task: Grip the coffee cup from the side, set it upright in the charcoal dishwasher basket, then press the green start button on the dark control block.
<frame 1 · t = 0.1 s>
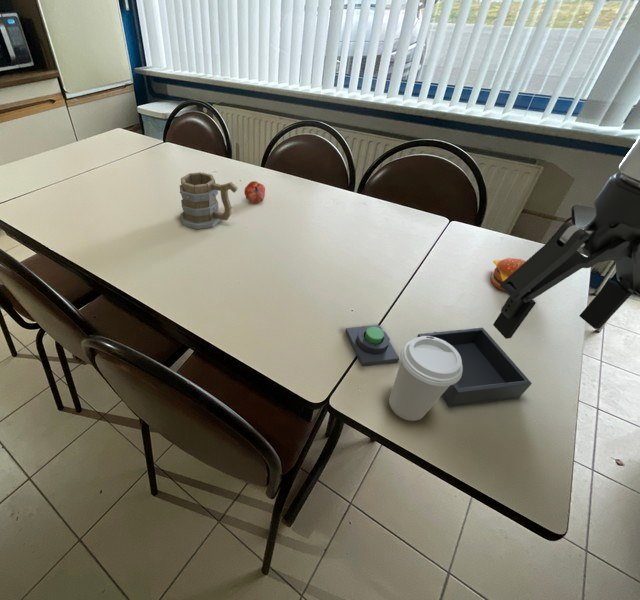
hand: (545, 326, 52), 24 cm above the table, tool pointing down, fingers open, 13 cm apart
pomegranate: (254, 201, 132), on the table
hamburger: (508, 284, 97), on the table
basket: (462, 371, 75), on the table
tankard: (210, 222, 121), on the table
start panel: (370, 346, 80), on the table
start button: (374, 335, 78), point 3 cm above the table, slide at 0.1 cm
coffee cup: (406, 405, 69), on the table
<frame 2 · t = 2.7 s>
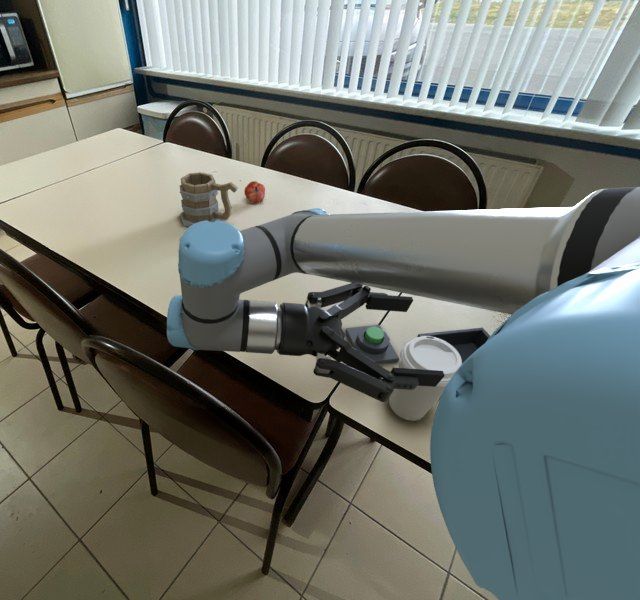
hand: (423, 338, 53), 21 cm above the table, tool horizontal, fingers open, 13 cm apart
nothing on the table moved.
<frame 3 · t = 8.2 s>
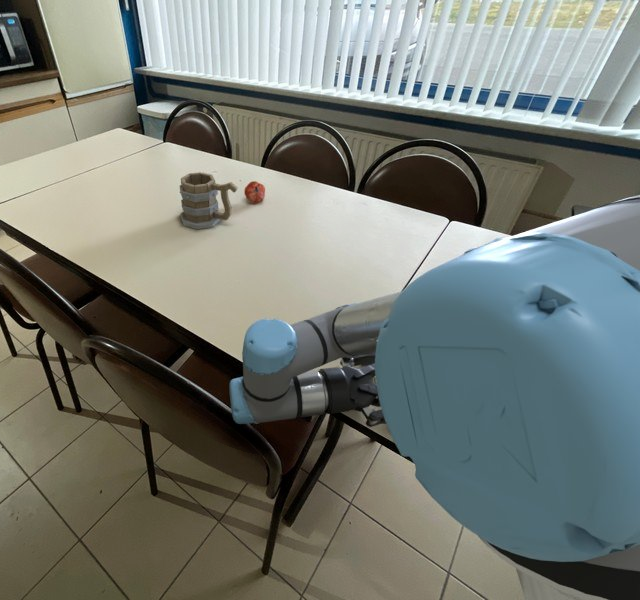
hand: (446, 377, 64), 8 cm above the table, tool horizontal, fingers closed on coffee cup, 8 cm apart
coffee cup: (406, 405, 69), on the table, touching gripper
everything else where it was.
when the fingers open (9 cm above the table, at t = 15.7 s): coffee cup stays where it is, resting on basket.
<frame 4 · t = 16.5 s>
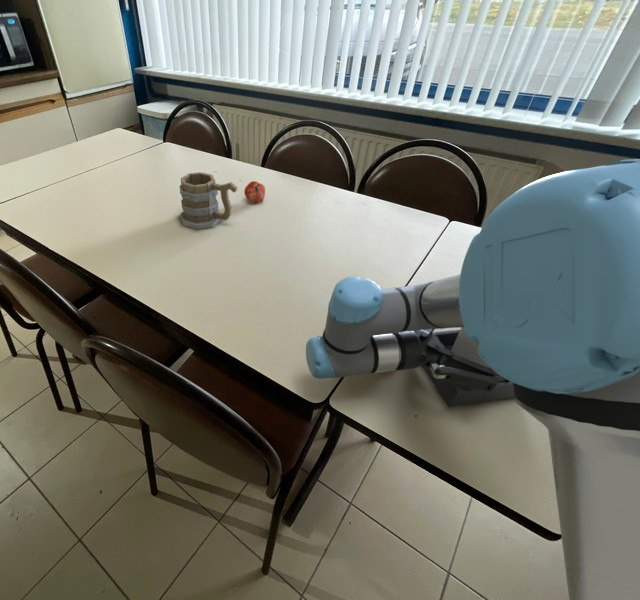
hand: (498, 338, 69), 9 cm above the table, tool horizontal, fingers open, 13 cm apart
coffee cup: (462, 369, 75), resting on basket
everything else where it was.
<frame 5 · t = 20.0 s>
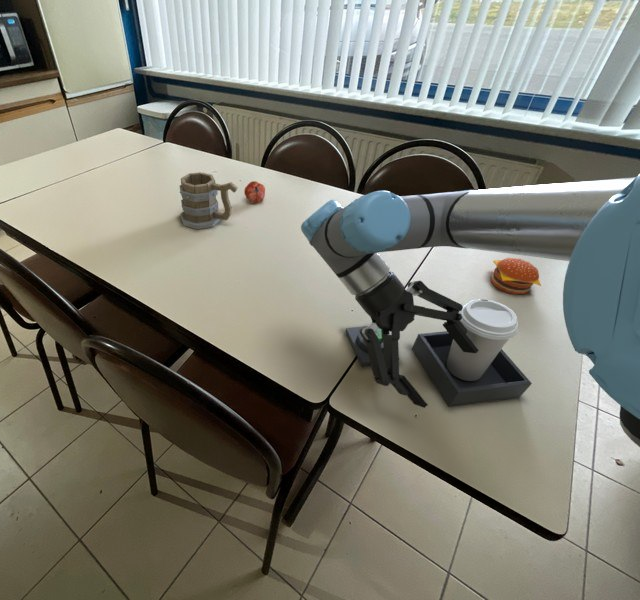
hand: (446, 377, 63), 9 cm above the table, tool tilted 50°, fingers open, 13 cm apart
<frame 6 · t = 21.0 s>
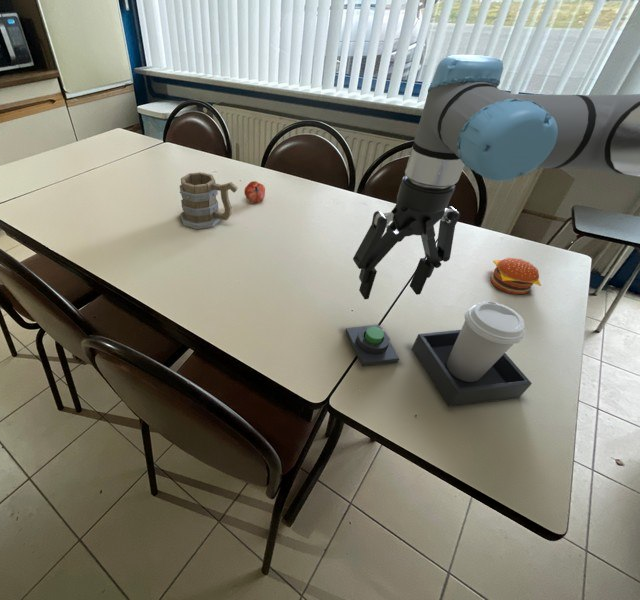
hand: (389, 292, 70), 16 cm above the table, tool pointing down, fingers open, 10 cm apart
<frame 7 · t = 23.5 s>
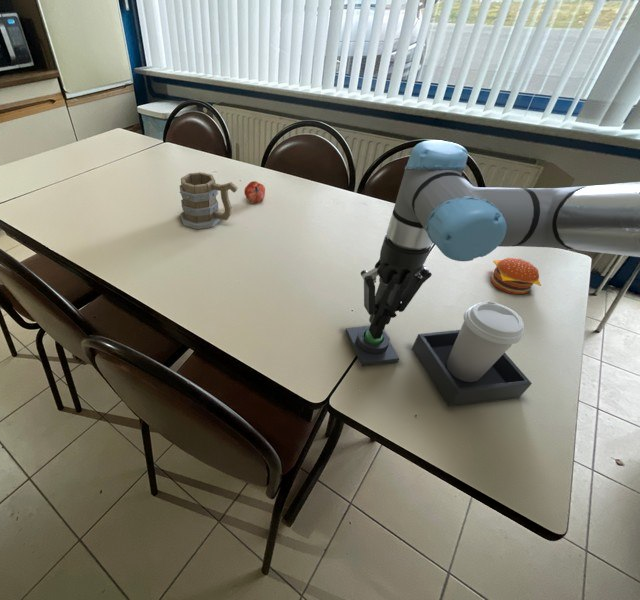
hand: (374, 333, 78), 4 cm above the table, tool pointing down, fingers closed
start button: (373, 337, 78), point 3 cm above the table, slide at -0.7 cm, touching gripper
everything else where it was.
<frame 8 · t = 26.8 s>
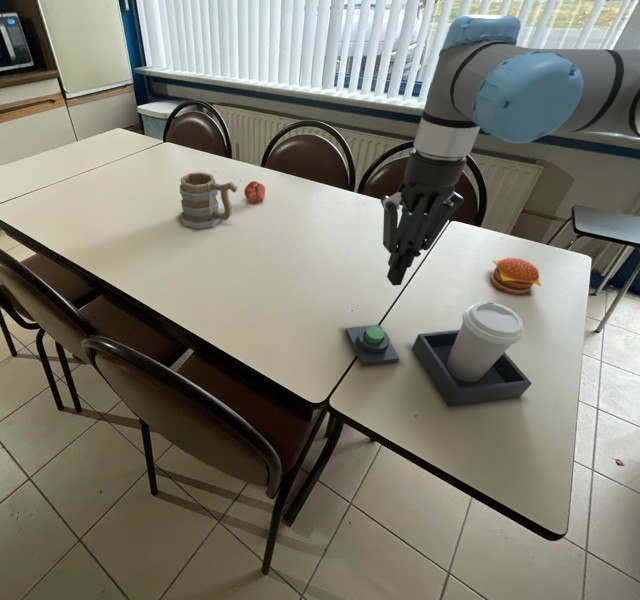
hand: (393, 280, 68), 18 cm above the table, tool pointing down, fingers closed
start button: (374, 335, 78), point 3 cm above the table, slide at 0.1 cm
everything else where it was.
at the end: coffee cup inside the target area in the basket (0.0 cm from its centre), point 0.4 cm above the basket's base; coffee cup tilted 0°; start button pushed in 1.0 cm at the most during the clip, back to where it started at the end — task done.
